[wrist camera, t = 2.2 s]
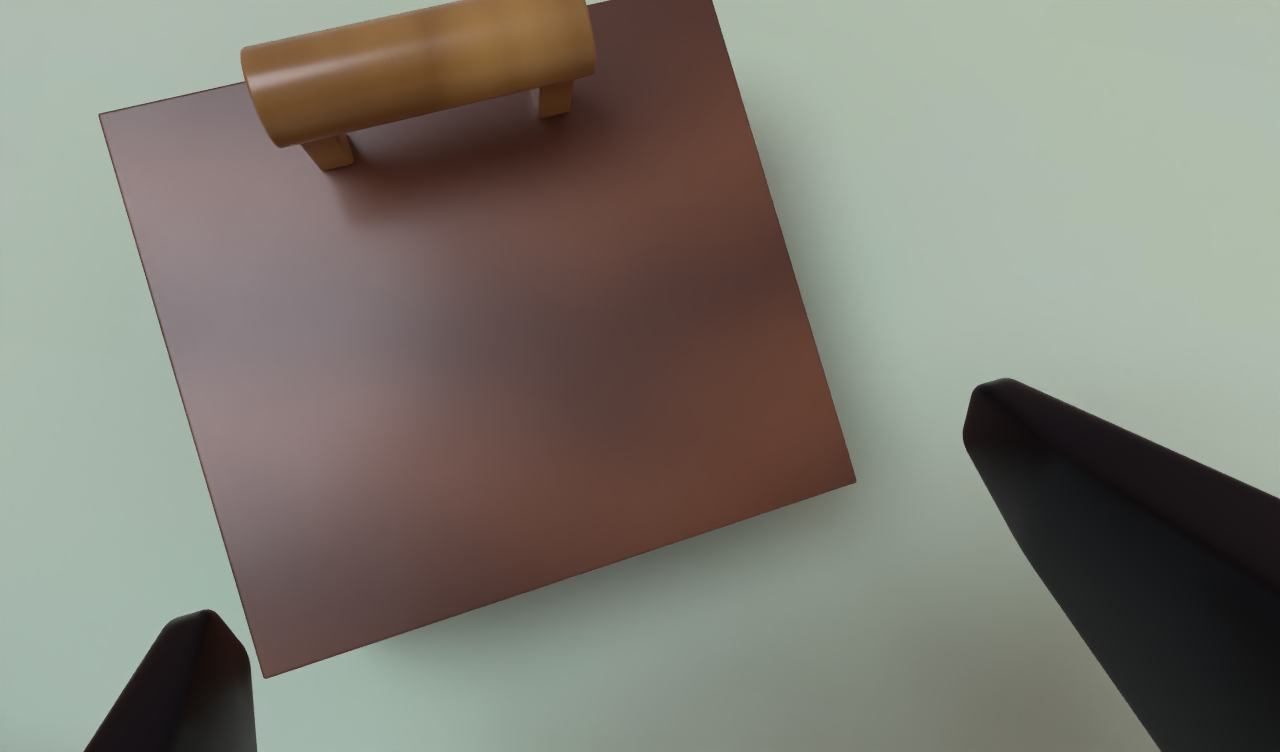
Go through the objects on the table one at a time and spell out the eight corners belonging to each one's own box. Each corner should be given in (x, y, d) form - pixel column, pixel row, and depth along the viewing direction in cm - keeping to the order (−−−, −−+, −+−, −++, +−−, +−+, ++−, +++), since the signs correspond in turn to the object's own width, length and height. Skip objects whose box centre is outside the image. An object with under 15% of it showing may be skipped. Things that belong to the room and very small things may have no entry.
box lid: (113, 125, 16) (-38, 17, 12) (699, -6, 18) (756, -143, 14) (274, 669, 16) (181, 763, 12) (845, 479, 18) (949, 499, 14)
